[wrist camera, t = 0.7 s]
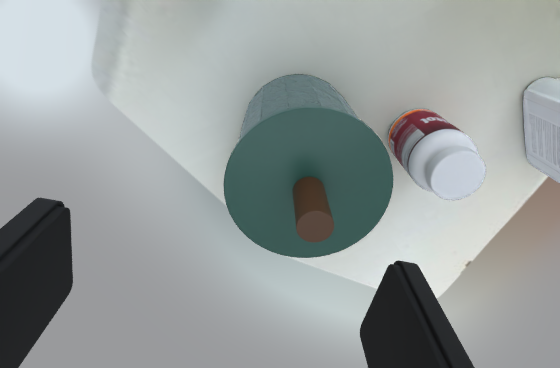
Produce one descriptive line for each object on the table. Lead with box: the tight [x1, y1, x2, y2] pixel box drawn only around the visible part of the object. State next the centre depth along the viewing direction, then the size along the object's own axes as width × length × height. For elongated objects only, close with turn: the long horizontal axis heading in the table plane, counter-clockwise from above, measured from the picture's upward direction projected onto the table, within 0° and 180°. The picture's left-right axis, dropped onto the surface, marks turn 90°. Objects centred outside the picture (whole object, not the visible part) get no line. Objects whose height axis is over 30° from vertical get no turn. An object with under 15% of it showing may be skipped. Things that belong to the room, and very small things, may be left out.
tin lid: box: [224, 106, 393, 258], centre depth 25 cm, size 13×13×6 cm
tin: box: [239, 74, 357, 140], centre depth 34 cm, size 12×12×14 cm
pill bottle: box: [388, 109, 486, 200], centre depth 36 cm, size 6×6×11 cm
